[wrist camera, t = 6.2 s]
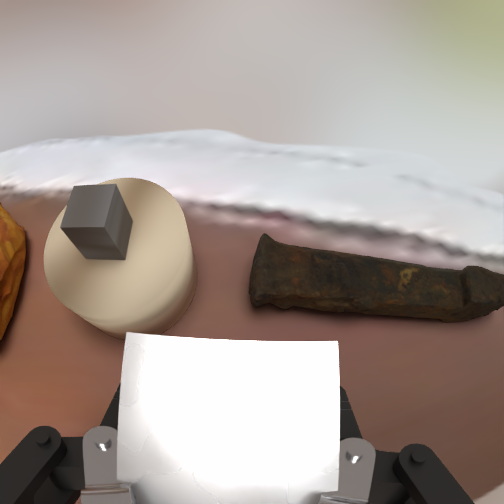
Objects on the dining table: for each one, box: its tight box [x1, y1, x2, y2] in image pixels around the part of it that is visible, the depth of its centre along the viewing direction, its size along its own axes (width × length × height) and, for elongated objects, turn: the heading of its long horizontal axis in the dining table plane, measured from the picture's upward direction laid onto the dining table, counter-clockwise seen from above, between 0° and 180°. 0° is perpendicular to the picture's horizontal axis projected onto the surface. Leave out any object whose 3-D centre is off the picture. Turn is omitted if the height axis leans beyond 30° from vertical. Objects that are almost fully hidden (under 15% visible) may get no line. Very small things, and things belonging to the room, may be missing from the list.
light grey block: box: [117, 332, 340, 504], centre depth 10 cm, size 5×5×9 cm
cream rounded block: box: [44, 178, 197, 340], centre depth 16 cm, size 8×8×8 cm
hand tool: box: [249, 233, 504, 322], centre depth 17 cm, size 19×4×5 cm, turn 80°
